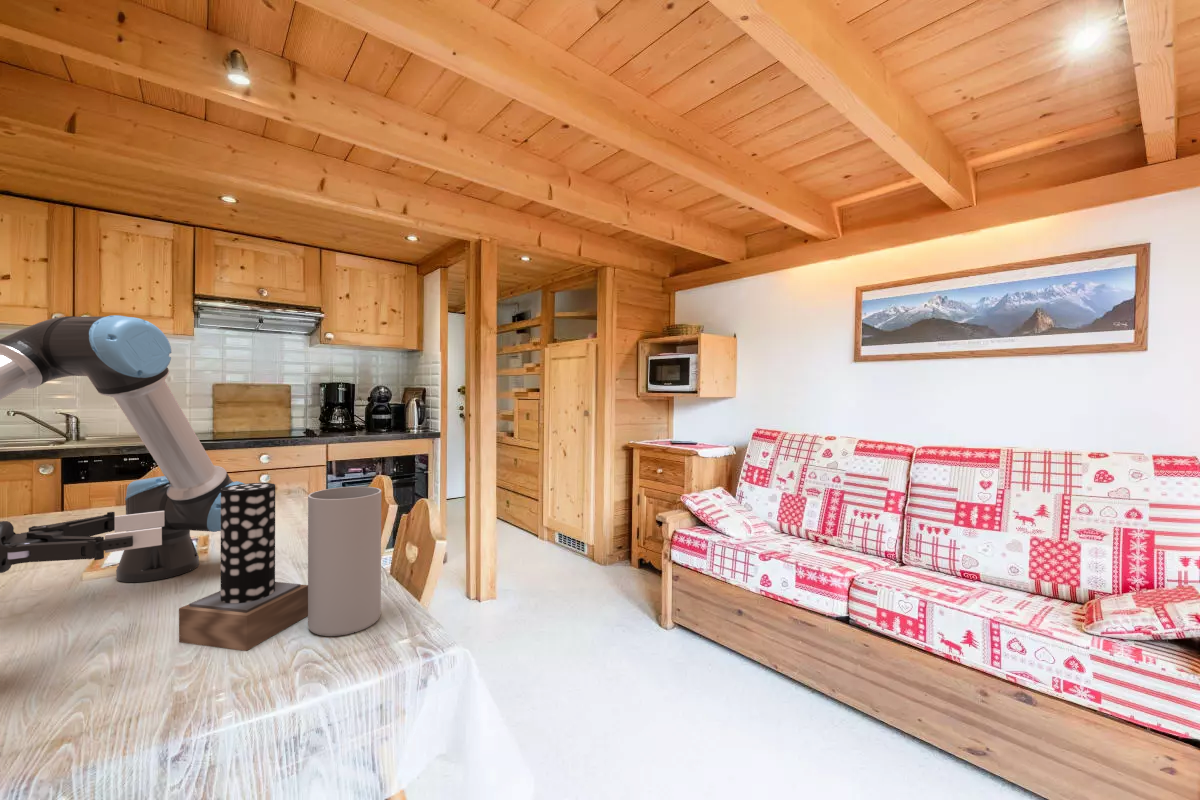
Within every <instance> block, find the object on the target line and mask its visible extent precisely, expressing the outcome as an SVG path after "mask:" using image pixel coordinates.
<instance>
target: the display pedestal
mask: <svg viewBox="0 0 1200 800" xmlns="http://www.w3.org/2000/svg"><path fill="white" fill-rule="evenodd" d="M305 618H308V584H300V583H291V582H281V581H275V591H274V592H273V593H272V594H271V595H269V596H267V597H264V598H262V599H258V600H255V601H251V602H245V603H225V602H222V601H221V590H219V591H217V592H214V593H212V594H209V595H207V596H204V597H202V598H200V599H198V600H194V601H192V602H190V603H188V604H186V605H184V606H181V607H179V608H178V642H179V643H183V644H191V645H198V646H205V647H215V648H220V649H221V648H222V649H229V650H238V651H244V652H245V651H246V652H247V651H249V650H251V649H252V648H254V647H256V646H258V645H259V644H262V643H263V642H265V641H267V640H268V639H270V638H271V637H273V636H275V635H277V634H279V633H281V632H282V631H284V630H286V629H288V628H289V627H292V626H293V625H294V624H296V623H298V622H300V621H302V620H303V619H305Z"/></svg>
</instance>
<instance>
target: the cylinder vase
mask: <svg viewBox="0 0 1200 800" xmlns="http://www.w3.org/2000/svg"><path fill="white" fill-rule="evenodd" d="M307 523H308V524H307V585H308V616H307V627H308V629H309V631H310V632H311V633H313V634H315V635H319V636H322V637H324V636H325V637H336V636H344V635H350V634H354V632H355V633H357V632H360V631H363V630H366V629H368V628H369V627H371V626H373V625H374V624H375V623H376V622H377V621H378V620H379V619H380V617H381V615H382V614H381V613H382V603H381V602H382V489H381V488H378V487H374V486H341V487H335V488H334V487H333V488H332V487H331V488H327V489H321V490H317V491H313V492H311V493H308V495H307Z"/></svg>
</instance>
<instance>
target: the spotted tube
mask: <svg viewBox="0 0 1200 800" xmlns="http://www.w3.org/2000/svg"><path fill="white" fill-rule="evenodd" d="M275 582H276V484H275V483H270V482H251V483H245V484H238V485H232V486H227V487H223V488H221V531H220V591H221V601H222V602H225V603H245V602H251V601H255V600H258V599H262V598H264V597H267V596H269V595H271V594H272V593H273V592H274V591H275Z"/></svg>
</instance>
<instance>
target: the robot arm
mask: <svg viewBox="0 0 1200 800" xmlns="http://www.w3.org/2000/svg"><path fill="white" fill-rule="evenodd" d="M170 354H172V347H171V344H170V341H169V339H168V337H167V336H166V335H165V333H164V332H163V330H161V329H160V328H159V327H158V326H156V325H155V324H153V323H152V322H150V321H148V320H145V319H142V318H139V317H133V316H125V315H108V316H106V315H105V316H103V315H102V316H77V315H75V316H74V315H73V316H72V315H71V316H59V317H53V318H50V319H49V318H48V319H46V320H44V321H39V322H37V323H35V324H33V325H29V326H27V327H24V328H21V329H19V330H17V331H15V332H13V333H10V334H8V335H6V336H4V337H1V338H0V401H1V400H3V399H4V398H7V397H8V396H9V395H12V394H13V393H15V392H18V391H19V390H21V389H35V388H37V387H40V386H41V385H43V384H45V383H47V382H50V381H52V380H57V379H61V378H66V377H75V376H76V377H87V378H88V379H89V381H90V382H91V384H92V385H93V387H94V388H95V389H96V391H97V392H98V393H99V394H100V395H102V396H106V397H111V398H113V399H114V400H115V402H116V403H117V405H118V406H119V409H120V410H121V411H122V413H123V415H125V417H126V419H127V420H128V421H129V423H130V425H131V426H132V428H133V430H134V431H135V432H136V434H137V435H138V437H139V438H140V440H141V441H142V443H143V445H144V446H145V447H146V450H147V451H148V452H149V454H150V455H151V457H152V458H153V460H154V461H155V463H156V464H157V465H156V466H158V468H159V469H160V470H161V472H162V474H163V475H161V476H154V477H148V478H142V479H136V480H133V481H131V482H130V483H129V484H128V485H127V487H126V494H125V498H124V500H125V514H124V515H123V514H122V515H116V513H115V511H108V512H107V513H106V514H103V515H96V516H91V517H86V518H80V519H74V520H68V521H64V522H63V521H62V522H58V523H52V524H43V525H34V526H30V527H28V531H25V532H20V533H16V532H15V531H14V529H15V527H14V525H13V524H12V523H11V521H8V520H1V521H0V574H2V573H3V574H4V573H6V572H8V571H9V570H10V569H11V567H12V565H18V564H19V565H20V564H25V563H40V562H41V563H42V562H56V561H57V562H58V561H60V562H61V561H62V562H63V561H75V560H77V561H79V560H93V559H94V561H99V560H103V559H104V558H105V554H108V553H116V552H121V551H122V555H121V557H120V561H119V563H118V565H117V567H116V571H115V573H116V576H115V577H116V578H115V579H116V581H119V582H122V583H142V582H143V583H144V582H152V581H159V580H163V579H167V578H173V577H176V576H180V575H183V574H185V573H189V572H191V571H193V570H195V569H196V568H198V567H199V565H200V557H199V553H198V551H197V549H196V547H195V544H194V542H193V539H192V538H191V533H190V532H191V531H194V532H210V533H216V532H221V488H223V487H227V486H232V485H238V484H246V483H244V482H241V481H237V480H236V481H233V480H232V479H231V477H230V475H229V474H228V472H227V470H226V469H225V468H224V467H222V466H220V465H214V463H213V462H212V460H211V458H210V456H209V455H208V453H207V451H206V450H205V447H204V446H203V444H202V443H201V441H200V439H199V437H198V436H197V434H196V433H195V430H194V429H193V427H192V426H191V424H190V422H189V420H188V418H187V416H186V415H185V414H184V411H183V410H182V407H181V406H180V405H179V402H178V401H177V400H176V398H175V396H174V394H173V393H172V391H171V389H170V387H169V386H168V384H167V382H166V379H167V377H168V376H169V373H170V370H169V368H168V367H169V365H170V363H171V360H172V357H171V356H170ZM111 532H113V533H111ZM101 534H105V535H104V536H101ZM97 535H100V536H97Z"/></svg>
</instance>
